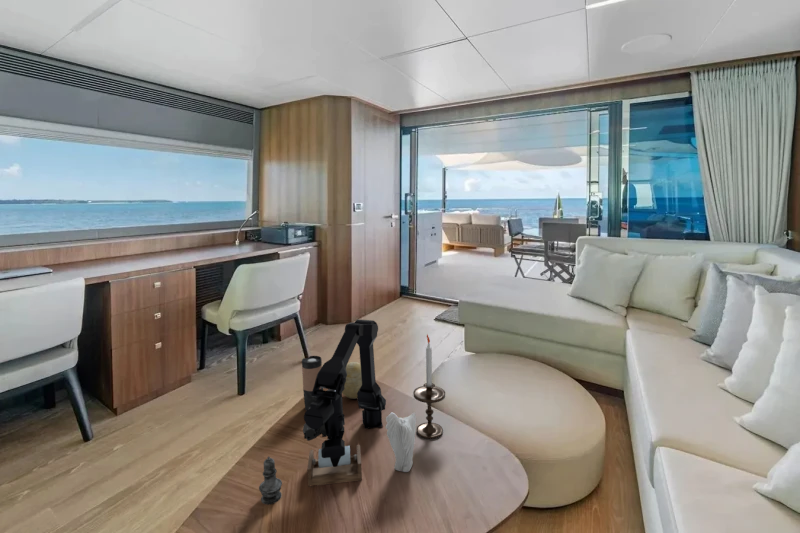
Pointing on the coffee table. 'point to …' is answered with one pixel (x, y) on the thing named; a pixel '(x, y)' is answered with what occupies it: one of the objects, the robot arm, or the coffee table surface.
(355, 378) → the fossilized egg
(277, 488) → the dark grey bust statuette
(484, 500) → the coffee table surface
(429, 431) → the candlestick
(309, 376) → the travel mug
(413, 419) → the white angel figurine
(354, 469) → the holder
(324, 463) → the roll
